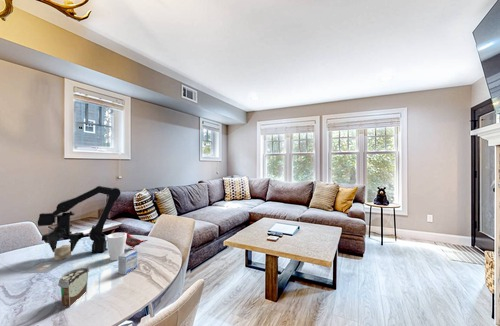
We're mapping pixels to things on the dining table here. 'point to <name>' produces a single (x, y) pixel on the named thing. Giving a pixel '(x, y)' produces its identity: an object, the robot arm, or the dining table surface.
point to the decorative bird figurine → (133, 241)
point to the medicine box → (127, 262)
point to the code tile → (43, 267)
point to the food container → (73, 285)
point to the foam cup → (116, 245)
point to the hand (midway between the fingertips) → (62, 251)
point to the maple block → (62, 252)
